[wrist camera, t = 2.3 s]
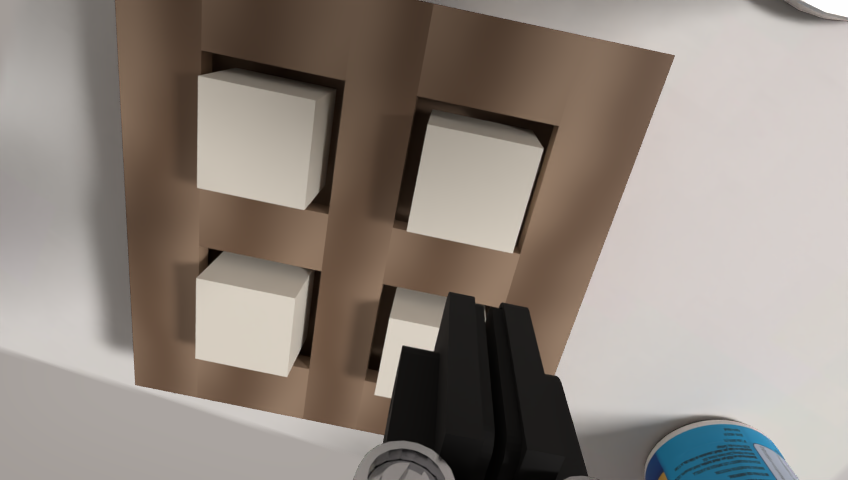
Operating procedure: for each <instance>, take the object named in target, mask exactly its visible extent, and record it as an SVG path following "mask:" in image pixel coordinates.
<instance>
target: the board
mask: <svg viewBox="0 0 848 480" xmlns="http://www.w3.org/2000/svg"><path fill="white" fill-rule="evenodd" d="M115 10H116V29H117V48H118V67H119V86H120V105H121V124H122V143H123V162H124V180H125V199H126V218H127V237H128V256H129V275H130V294H131V313H132V332H133V351H134V370H135V385H138V386H143V387H148V388H153V389H158V390H163V391H168V392H173V393H178V394H183V395H188V396H193V397H198V398H203V399H208V400H212V401H217V402H222V403H227V404H232V405H237V406H242V407H247V408H252V409H257V410H262V411H267V412H272V413H277V414H282V415H287V416H292V417H297V418H302V419H307V420H311V421H316V422H321V423H326V424H331V425H336V426H341V427H346V428H351V429H356V430H361V431H366V432H371V433H376V434H381V435H385V429H386V423H387V418H388V412H389V407H390V402H391V398H387V397H382V396H377V395H374V394H375V389H376V384H377V379H378V374H379V369H380V363H381V358H382V353H383V348H384V343H385V338H386V333H387V328H388V323H389V318H390V314H391V310H392V306H393V301H394V297H395V293H396V289H397V287H400V288H405V289H410V290H415V291H419V292H424V293H429V294H434V295H439V296H444V297H447V296H448V293H449V292H454V293H459V294H464V295H468V296H473V297H475V303H478V304H483V305H485V312H486V318H487V315H488V312H489V309H490V308H491V307H494V308H499V306H500V304H501V303H502V302H503V303H508V304H513V305H518V306H523V307H527V308H528V309H529V312H530V316H531V320H532V324H533V328H534V332H535V336H536V340H537V344H538V348H539V352H540V356H541V360H542V365H543V369H544V373H545V374H549V375H555V372H556V369H557V367H558V364H559V361H560V359H561V356H562V353H563V351H564V348H565V345H566V343H567V340H568V337H569V335H570V332H571V329H572V327H573V324H574V322H575V319H576V316H577V314H578V311H579V308H580V306H581V303H582V300H583V298H584V295H585V292H586V290H587V287H588V284H589V282H590V279H591V277H592V274H593V271H594V269H595V266H596V263H597V261H598V258H599V255H600V253H601V250H602V247H603V245H604V242H605V239H606V237H607V234H608V231H609V229H610V226H611V224H612V221H613V218H614V216H615V213H616V210H617V208H618V205H619V202H620V200H621V197H622V194H623V192H624V189H625V186H626V184H627V181H628V179H629V176H630V173H631V171H632V168H633V165H634V163H635V160H636V157H637V155H638V152H639V149H640V147H641V144H642V141H643V139H644V136H645V133H646V131H647V128H648V126H649V123H650V120H651V118H652V115H653V112H654V110H655V107H656V104H657V102H658V99H659V96H660V94H661V91H662V88H663V86H664V83H665V81H666V78H667V75H668V73H669V70H670V67H671V65H672V62H673V59H674V57H675V55H671V54H666V53H661V52H657V51H652V50H647V49H643V48H638V47H633V46H629V45H624V44H619V43H615V42H610V41H605V40H601V39H596V38H591V37H587V36H582V35H577V34H573V33H568V32H563V31H559V30H554V29H549V28H545V27H540V26H535V25H531V24H526V23H521V22H517V21H512V20H507V19H503V18H498V17H493V16H489V15H484V14H479V13H475V12H470V11H465V10H461V9H456V8H451V7H447V6H442V5H437V4H433V3H428V2H423V1H419V0H115ZM232 68H239V69H244V70H249V71H254V72H258V73H263V74H268V75H272V76H277V77H282V78H287V79H291V80H296V81H301V82H306V83H310V84H315V85H320V86H325V87H329V88H334V89H336V98H335V106H334V114H333V123H332V131H331V140H330V148H329V156H328V165H327V173H326V181H325V186H324V187H323V188H322V190H321V191H320V192H319V193H318V194H317V196H316V197H315V198H314V199H313V200H312V202H311V203H310V204H309V205H308V206H307V208H306V209H305V210H301V209H296V208H291V207H287V206H282V205H277V204H272V203H267V202H263V201H258V200H253V199H248V198H243V197H238V196H234V195H229V194H224V193H219V192H214V191H210V190H205V189H200V188H197V133H198V76H199V75H204V74H208V73H213V72H218V71H222V70H227V69H232ZM432 110H438V111H443V112H447V113H452V114H457V115H462V116H466V117H471V118H476V119H481V120H485V121H490V122H495V123H500V124H504V125H509V126H514V127H518V128H523V129H528V130H532V131H533V132H534V134H535V135H536V137H537V139H538V140H539V142H540V143H541V145H542V147H543V148H544V150H543V153H542V156H541V160H540V163H539V167H538V170H537V173H536V177H535V180H534V183H533V187H532V190H531V193H530V197H529V200H528V204H527V207H526V210H525V214H524V217H523V220H522V224H521V227H520V230H519V234H518V237H517V240H516V244H515V247H514V251H513V253H508V252H503V251H498V250H493V249H489V248H484V247H479V246H474V245H469V244H465V243H460V242H455V241H450V240H445V239H441V238H436V237H431V236H426V235H421V234H416V233H412V232H407V226H408V221H409V216H410V211H411V206H412V201H413V196H414V191H415V186H416V181H417V176H418V170H419V165H420V160H421V155H422V150H423V145H424V140H425V135H426V130H427V125H428V122H429V119H430V116H431V113H432ZM224 251H226V252H230V253H235V254H240V255H245V256H250V257H255V258H259V259H264V260H269V261H274V262H279V263H284V264H289V265H293V266H298V267H303V268H308V269H313V270H315V274H314V282H313V291H312V299H311V307H310V316H309V324H308V333H307V338H306V340H305V342H304V344H303V346H302V348H301V350H300V352H299V354H298V356H297V358H296V360H295V362H294V364H293V366H292V368H291V370H290V372H289V374H288V376H287V377H284V376H279V375H274V374H269V373H264V372H259V371H254V370H249V369H244V368H239V367H234V366H229V365H225V364H220V363H215V362H210V361H205V360H200V359H195V350H196V278H197V277H198V276H199V275H200V274H201V273H202V272H203V271H204V270H205V269H206V268H207V267H208V266H209V265H210V264H211V263H212V262H213V261H214V260H215V259H216V258H217V257H218V256H219V255H220V254H221V253H222V252H224Z"/></svg>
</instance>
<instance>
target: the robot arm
mask: <svg viewBox="0 0 848 480" xmlns="http://www.w3.org/2000/svg"><path fill="white" fill-rule="evenodd" d="M784 1H785V2H787V3H788V4H790V5H792V6H793V7H795V8H796V9H798V10H800V11H803V12H806V13H809V14H812V15H815V16H818V17H821V18H824V19H833V20H843V21H848V0H784ZM353 480H599V479H597V478H592V477H588V474H587V470H586V467H585V463H584V460H583V456H582V453H581V449H580V446H579V442H578V439H577V436H576V432H575V429H574V425H573V422H572V418H571V415H570V411H569V408H568V404H567V401H566V397H565V394H564V390H563V387H562V383H561V381H560V379H559V378H558V377H557V376H554V375H549V374H545V373H544V369H543V365H542V360H541V356H540V352H539V348H538V344H537V340H536V336H535V332H534V328H533V324H532V320H531V316H530V312H529V309H528V308H527V307H523V306H518V305H513V304H508V303H503V302H502V303H501V304H500V306H499V308H494V307H491V308H490V309H489V312H488V315H487V318H486V322H485V315H484V306H483V305H479V304H475V297H473V296H468V295H464V294H459V293H454V292H449V293H448V296H447V299H446V303H445V307H444V311H443V315H442V319H441V324H440V328H439V332H438V336H437V340H436V344H435V348H434V351H429V350H424V349H419V348H414V347H409V346H404V345H403V346H402V350H401V354H400V358H399V363H398V368H397V372H396V377H395V382H394V387H393V392H392V397H391V402H390V407H389V412H388V418H387V423H386V429H385V435H384V440H383V444H381V445H378V446H376V447H375V448H373V449H372V450H371V451H369V452H368V453H367V454H366V455H365V457H364V458H363V460H362V461H361V463H360V464H359V466H358V469H357V471H356V474H355V476H354V478H353Z"/></svg>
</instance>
